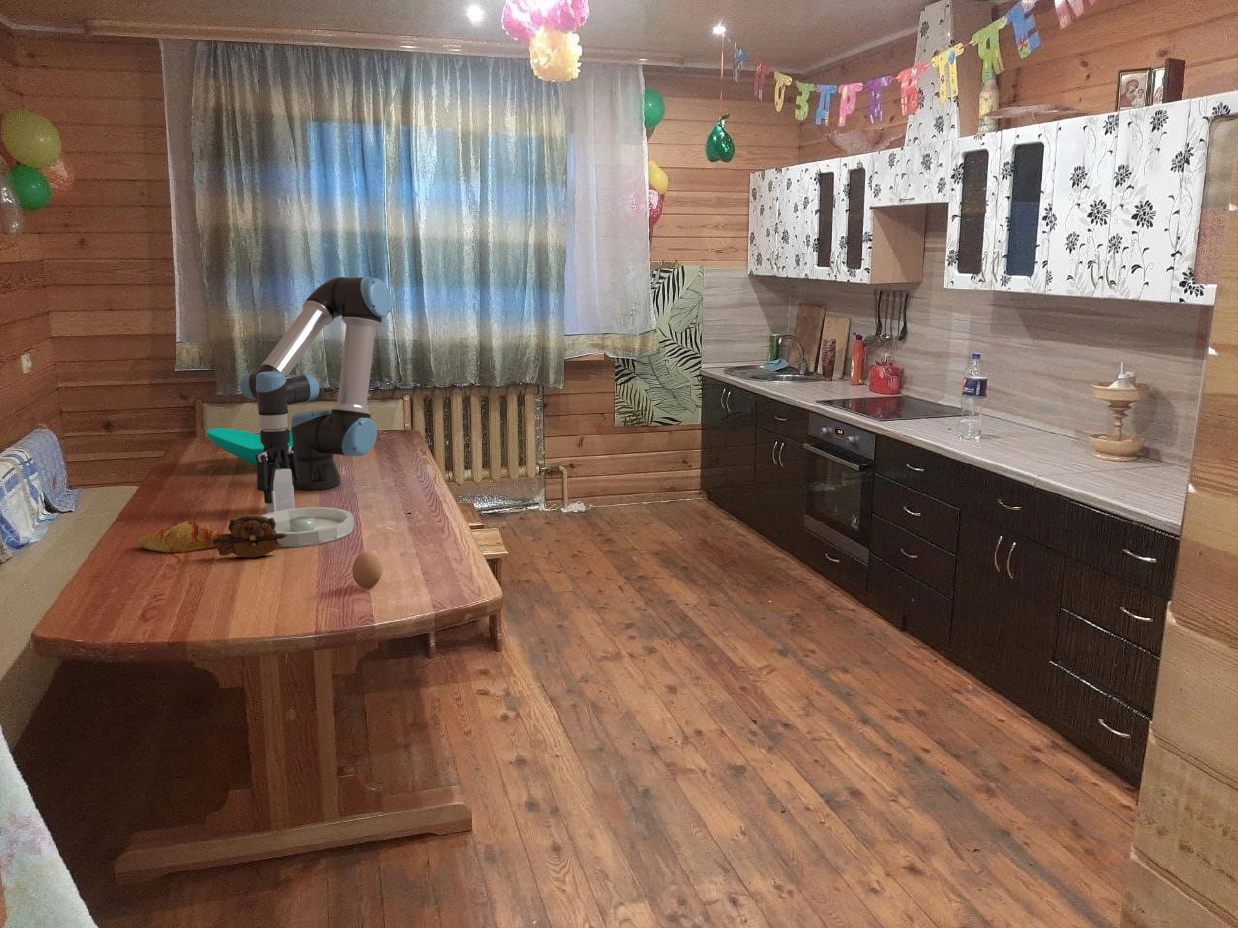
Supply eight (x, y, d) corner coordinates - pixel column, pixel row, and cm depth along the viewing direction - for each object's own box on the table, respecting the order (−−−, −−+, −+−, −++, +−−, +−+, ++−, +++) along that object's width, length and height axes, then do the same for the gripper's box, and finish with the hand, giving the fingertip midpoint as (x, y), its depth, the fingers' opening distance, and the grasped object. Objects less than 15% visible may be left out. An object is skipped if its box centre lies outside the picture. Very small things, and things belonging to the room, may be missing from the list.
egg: (388, 586, 199) (386, 551, 197) (363, 594, 194) (361, 557, 193) (372, 580, 203) (370, 545, 201) (347, 587, 198) (345, 552, 196)
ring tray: (295, 516, 254) (294, 503, 253) (373, 525, 245) (372, 512, 245) (228, 541, 231) (226, 527, 230) (310, 552, 222) (309, 538, 222)
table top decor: (204, 479, 297) (200, 438, 294) (214, 462, 323) (210, 424, 320) (334, 471, 308) (331, 432, 306) (333, 455, 334) (331, 418, 332)
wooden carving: (212, 563, 214) (208, 521, 212) (215, 557, 219) (211, 516, 217) (288, 557, 219) (285, 516, 217) (289, 551, 223) (286, 511, 221)
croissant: (136, 566, 223) (125, 543, 218) (147, 537, 231) (137, 513, 226) (228, 561, 226) (220, 537, 220) (236, 532, 233) (228, 509, 228)
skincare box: (286, 508, 262) (283, 467, 259) (295, 511, 259) (292, 469, 256) (266, 513, 257) (263, 470, 254) (275, 515, 254) (271, 473, 252)
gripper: (287, 422, 263) (293, 501, 268) (237, 434, 245) (244, 518, 250) (309, 424, 261) (315, 503, 266) (260, 436, 243) (267, 521, 248)
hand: (281, 510), depth 258 cm, fingers closed on skincare box, 7 cm apart
